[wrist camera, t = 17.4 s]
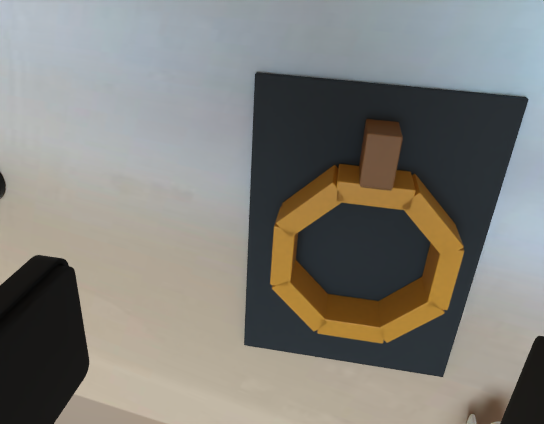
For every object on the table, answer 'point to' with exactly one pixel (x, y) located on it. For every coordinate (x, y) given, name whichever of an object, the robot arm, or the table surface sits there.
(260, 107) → the mat
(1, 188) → the peg stand
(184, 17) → the table surface
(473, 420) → the headset
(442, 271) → the ring
